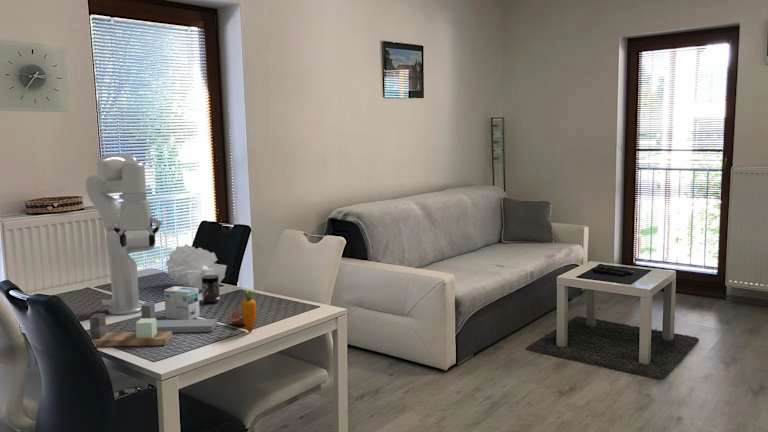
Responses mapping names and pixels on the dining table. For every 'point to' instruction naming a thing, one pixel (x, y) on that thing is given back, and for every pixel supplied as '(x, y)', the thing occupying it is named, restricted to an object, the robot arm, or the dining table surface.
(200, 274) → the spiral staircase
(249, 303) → the carrot
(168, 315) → the light bulb box
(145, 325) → the sage block
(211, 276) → the supplement container
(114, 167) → the robot arm
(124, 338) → the wooden board with post
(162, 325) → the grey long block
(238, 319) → the fruit slice
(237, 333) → the dining table surface
